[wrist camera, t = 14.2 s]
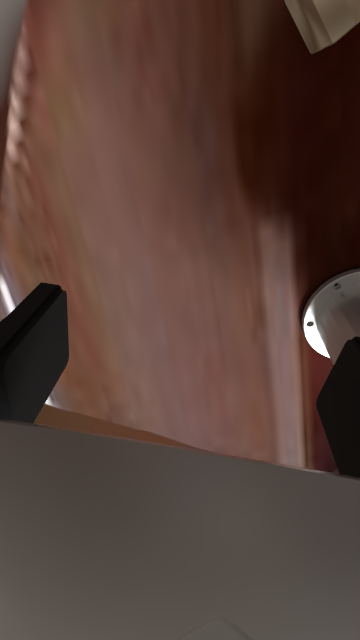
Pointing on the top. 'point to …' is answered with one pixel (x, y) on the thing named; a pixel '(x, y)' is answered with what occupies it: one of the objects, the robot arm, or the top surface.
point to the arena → (323, 20)
